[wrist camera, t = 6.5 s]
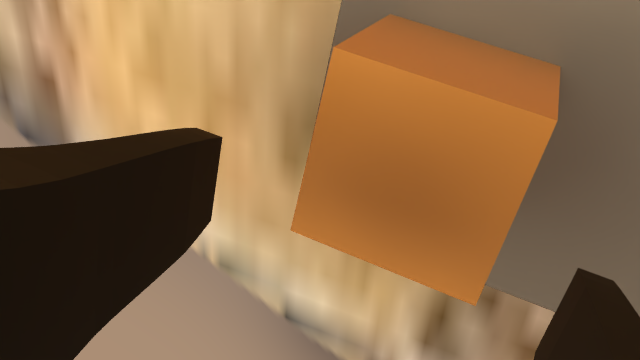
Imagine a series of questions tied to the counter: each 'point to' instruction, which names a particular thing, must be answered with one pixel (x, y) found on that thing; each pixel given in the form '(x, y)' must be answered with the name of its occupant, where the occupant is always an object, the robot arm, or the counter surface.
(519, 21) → the grey flat block
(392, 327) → the counter surface
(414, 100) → the solid orange cube
